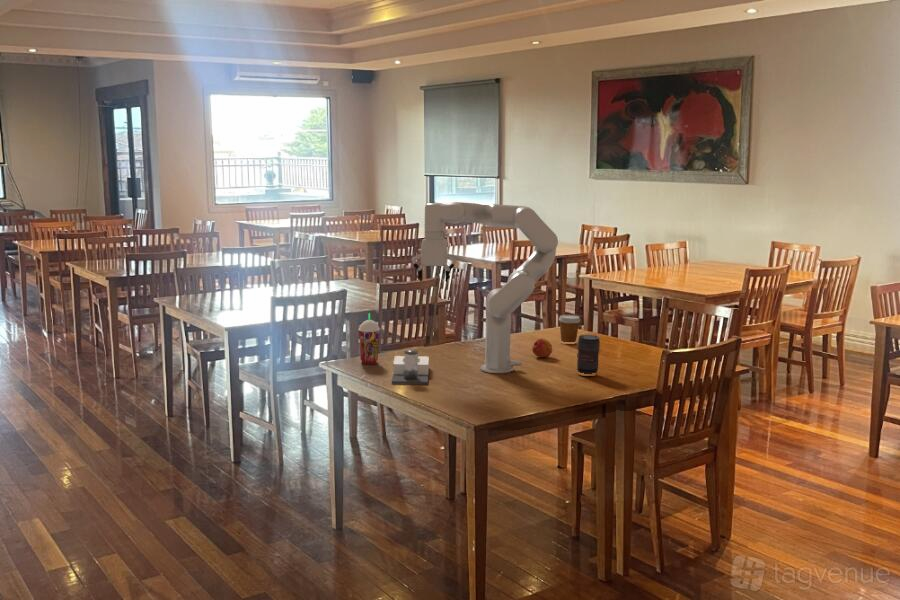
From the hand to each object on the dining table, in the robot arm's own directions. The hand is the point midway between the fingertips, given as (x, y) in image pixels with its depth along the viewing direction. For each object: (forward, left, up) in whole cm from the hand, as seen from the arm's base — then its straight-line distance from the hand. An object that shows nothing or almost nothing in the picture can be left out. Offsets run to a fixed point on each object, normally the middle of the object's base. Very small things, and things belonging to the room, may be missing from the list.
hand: (433, 281), depth 333 cm
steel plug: (+8, +18, -33) cm, 39 cm away
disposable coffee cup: (-60, -50, -34) cm, 85 cm away
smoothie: (+25, -8, -34) cm, 43 cm away
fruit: (-45, -22, -35) cm, 61 cm away
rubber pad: (+8, +18, -34) cm, 40 cm away
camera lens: (-59, +6, -34) cm, 69 cm away
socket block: (+8, +5, -34) cm, 36 cm away
